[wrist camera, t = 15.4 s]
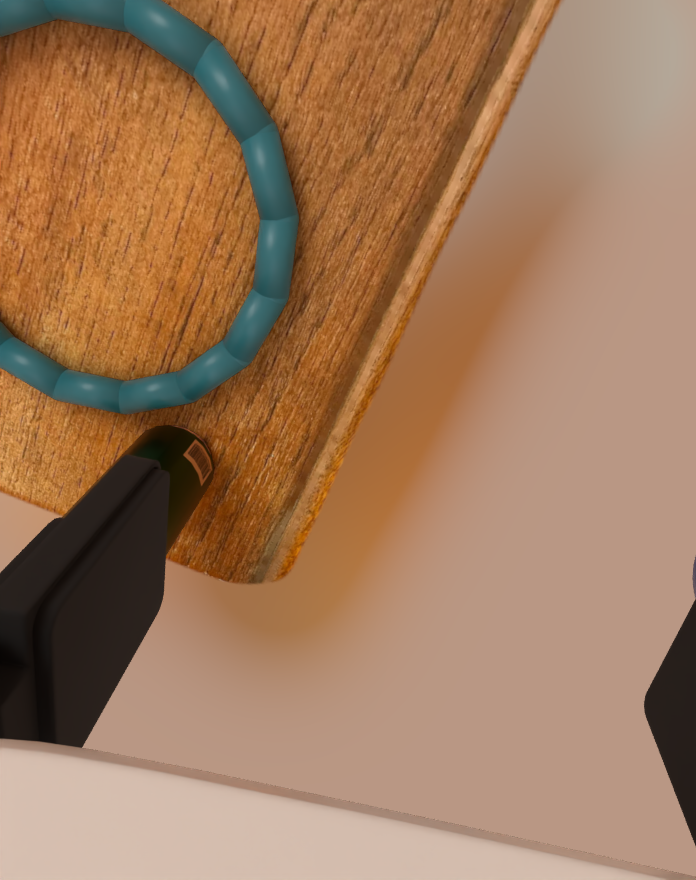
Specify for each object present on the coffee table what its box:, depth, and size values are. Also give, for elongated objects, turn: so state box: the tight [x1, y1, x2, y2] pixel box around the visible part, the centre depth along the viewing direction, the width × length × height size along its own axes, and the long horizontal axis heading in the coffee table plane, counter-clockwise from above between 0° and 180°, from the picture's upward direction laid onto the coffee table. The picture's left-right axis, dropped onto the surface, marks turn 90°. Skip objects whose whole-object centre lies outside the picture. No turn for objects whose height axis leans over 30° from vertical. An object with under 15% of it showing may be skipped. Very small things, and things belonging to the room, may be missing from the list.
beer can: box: [62, 425, 214, 555], centre depth 36 cm, size 5×5×12 cm
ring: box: [0, 0, 299, 414], centre depth 34 cm, size 22×22×2 cm
